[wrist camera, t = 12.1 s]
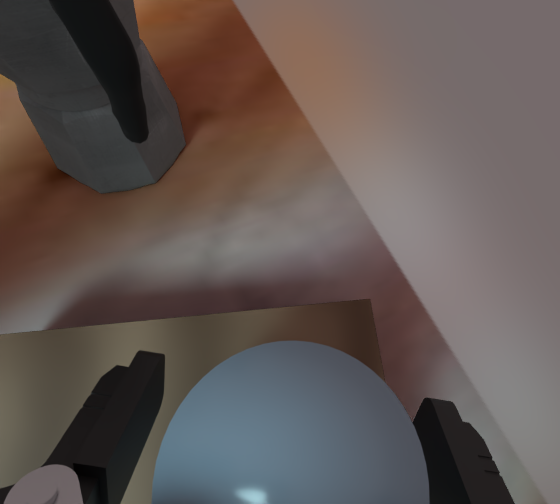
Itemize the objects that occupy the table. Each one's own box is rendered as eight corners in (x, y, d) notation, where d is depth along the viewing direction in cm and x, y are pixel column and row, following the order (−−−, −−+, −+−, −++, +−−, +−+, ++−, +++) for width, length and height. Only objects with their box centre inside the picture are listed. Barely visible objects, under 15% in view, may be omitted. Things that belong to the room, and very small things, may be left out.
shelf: (9, 549, 19) (-72, 608, 14) (28, 345, 22) (-34, 337, 17) (375, 493, 21) (412, 529, 16) (346, 313, 24) (369, 298, 19)
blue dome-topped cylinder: (211, 500, 16) (152, 690, 6) (205, 364, 17) (151, 354, 8) (338, 481, 16) (459, 631, 7) (320, 352, 18) (399, 328, 9)
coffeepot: (13, 103, 27) (-406, -375, 10) (131, 47, 29) (-41, -420, 12) (127, 272, 24) (-197, 5, 6) (248, 194, 26) (244, -155, 9)
